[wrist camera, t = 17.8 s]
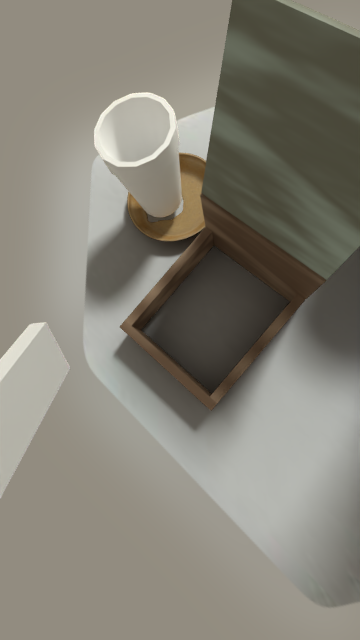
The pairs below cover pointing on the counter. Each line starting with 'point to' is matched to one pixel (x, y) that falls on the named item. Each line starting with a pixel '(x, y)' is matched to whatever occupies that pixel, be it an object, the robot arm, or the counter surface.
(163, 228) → the plant saucer
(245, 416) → the counter surface
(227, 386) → the cold frame
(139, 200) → the foam cup
